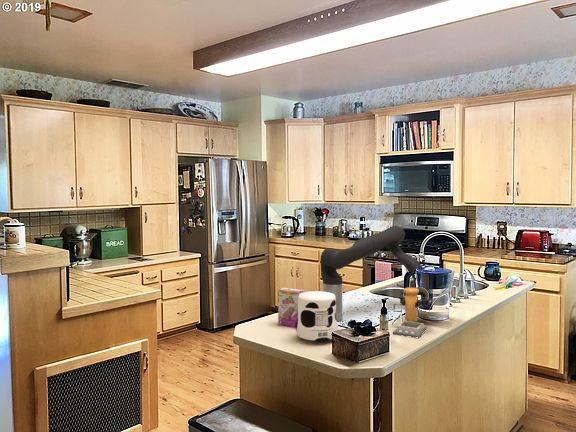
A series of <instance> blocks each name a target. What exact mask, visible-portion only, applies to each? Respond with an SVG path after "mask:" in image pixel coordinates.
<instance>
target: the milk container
mask: <svg viewBox="0 0 576 432" xmlns="http://www.w3.org/2000/svg"><path fill="white" fill-rule="evenodd" d="M337 330H338V331H339V325H338V321H337V320H336V297H335V295H334V294H333V293H329V292H323V290H322V291H320V290H315V291H314V290H313V291H312V290H311V291H304V292H303V293H300V294H299V296H298V318H297V322H296V328H295V332H296V335H297V337H298V338H299V339H301V340H303V341H306V342H312V343H322V342H323V343H324V342H328V341H329V342H330V341H332V340H333V339H332V336H331V334H332V332H334V331H337Z"/></svg>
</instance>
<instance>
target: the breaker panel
mask: <svg viewBox="0 0 576 432" xmlns="http://www.w3.org/2000/svg"><path fill="white" fill-rule="evenodd" d="M396 326H397V327H396V329H394V330H393V331H392V335H393V336H394V335H395V336H401V335H403V337H407V336H411V337H410V338H413V337H418V338H417V339H420V338H421V337H422V336H421V334H422V333H423V332H424V331H425V330H426V331H427V327H425V323H423V322H417V321H415V322H410V321H406V320H402V321H401V322H400V323H399V324H398V325H396ZM426 331H425V332H426ZM425 332H424V333H425ZM420 336H421V337H420ZM419 337H420V338H419Z"/></svg>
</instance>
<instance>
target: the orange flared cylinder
mask: <svg viewBox="0 0 576 432" xmlns="http://www.w3.org/2000/svg"><path fill="white" fill-rule="evenodd" d="M403 293H404V294H405V295H404V296H405V306H404V309H405V311H404V312H405V313H404V315H405V316H404V321H410V322H417V321H418V307H415V302H416V301H417V294H418V293H419V289H418V288H417V287H405V288H403Z"/></svg>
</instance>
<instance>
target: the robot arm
mask: <svg viewBox="0 0 576 432" xmlns="http://www.w3.org/2000/svg"><path fill="white" fill-rule="evenodd" d="M405 236H406V233H405V230H404V229H403V228H402V227H400V226H398V225H393V226H390V227H389V226H388V228H386V229H384V230H382V231H380V232H377V233H374V234H371V235H369V236H365V237H362V238H360V239H358V240H355V242H354V243H353V244H352V246H350V247H347V248H343V249H336V248H330V247H329V248H328V247H327V248H324V250H323V251H321V254H320V261H319V262H320V277H321V279H322V291H323V292H329V293H333V294H334V295H335V297H336V320H337V322H341V321H342V320H343V277H342V275H340V274H339V273H338V271H337V270H341V269H344V268H345V267H347V266H348V265H351V264H352V263H354V262H357V261H360V260H362V259H365V258H368V257H370V256H373V255H375V254H376V253H378V252H379V251H381V250H382V249H384V248H387V250H388V251H390V253H391V254H392V256H394V257H395V258H396V259H397V260H398V261H399V262H400V263H401V264H402V265H403V266H404V268H405V269H406V271H408V273H409V272H412V275H410V276H411V277H412V279H413V280H414V281H416V278H415V275H414V274H413V272H414V271H415V270H416V269H417V268H424V266H422V264H421V263H420V262H419V260H418V259H417V258H415V257H414V256H411V255H409V254H407V253H405V252H404V251H403V250H402V248H401V247H400V244H401V243H402V242H403V240H404V239H405ZM416 282H417V281H416ZM416 288H418V289H419V293H418V294H417V301H416V302H415V307H417V308H418V307H421V306H423V307H427V306H429V305H432V297H430V298H429V293H428V291H427V290H426V289H425V288H423V287H419V286H417V287H416ZM399 303H400V304H401V305H402V307H405V295H404V294H400V296H399Z"/></svg>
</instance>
